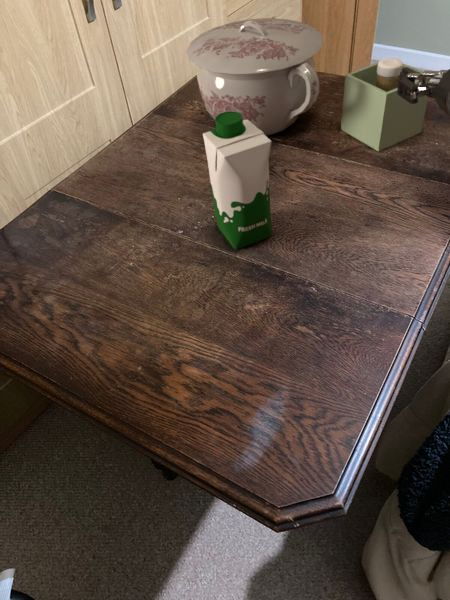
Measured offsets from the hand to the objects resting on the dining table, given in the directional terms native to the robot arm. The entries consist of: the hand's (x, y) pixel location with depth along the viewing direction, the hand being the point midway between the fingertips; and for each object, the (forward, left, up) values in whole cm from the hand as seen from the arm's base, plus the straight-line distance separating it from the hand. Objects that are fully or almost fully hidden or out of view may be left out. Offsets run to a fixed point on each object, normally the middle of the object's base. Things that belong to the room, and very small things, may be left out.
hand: (429, 67), depth 83 cm
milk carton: (+38, 0, -17) cm, 42 cm away
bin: (-2, -11, -17) cm, 20 cm away
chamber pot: (+15, -31, -17) cm, 39 cm away
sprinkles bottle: (-2, -10, -16) cm, 20 cm away
